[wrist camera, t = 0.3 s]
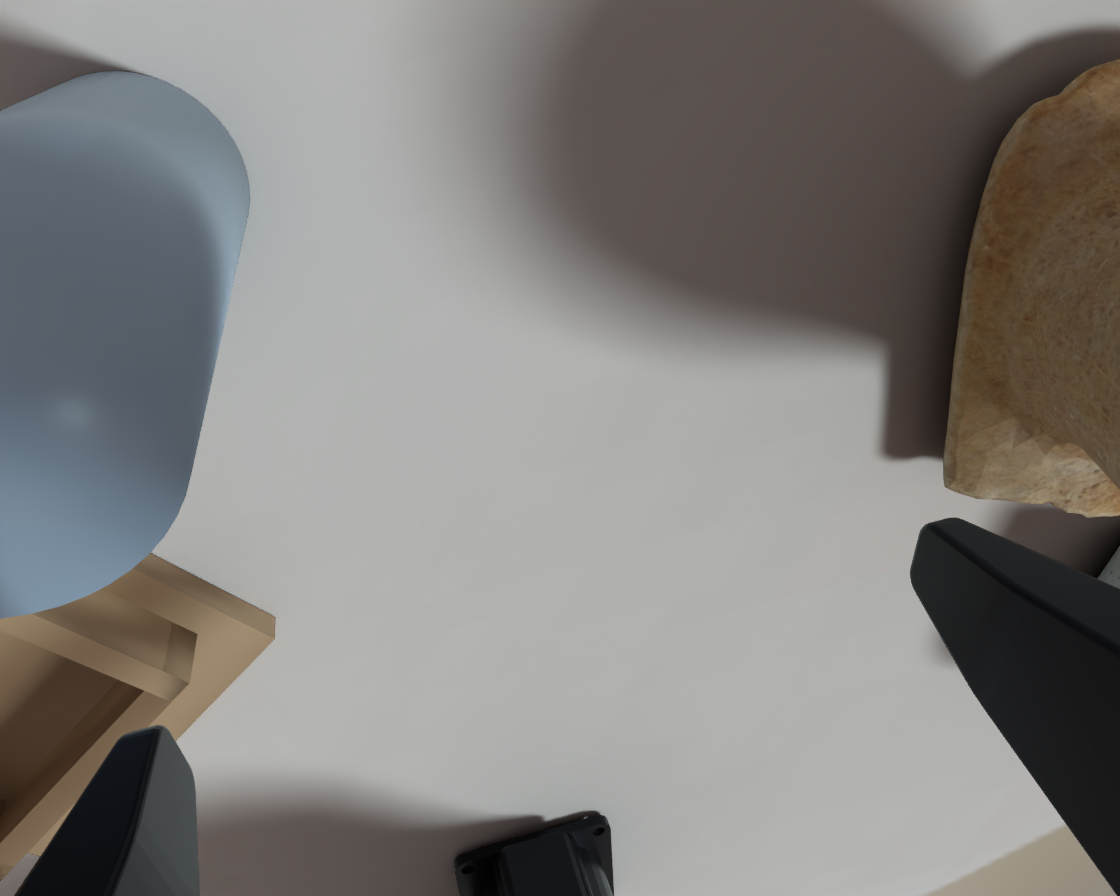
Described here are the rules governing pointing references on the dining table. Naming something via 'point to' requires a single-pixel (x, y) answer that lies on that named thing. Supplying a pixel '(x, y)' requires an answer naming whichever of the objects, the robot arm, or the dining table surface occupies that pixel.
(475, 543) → the dining table surface
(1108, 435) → the stone cup
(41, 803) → the wooden compartment tray
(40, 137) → the blue-grey round cylinder
